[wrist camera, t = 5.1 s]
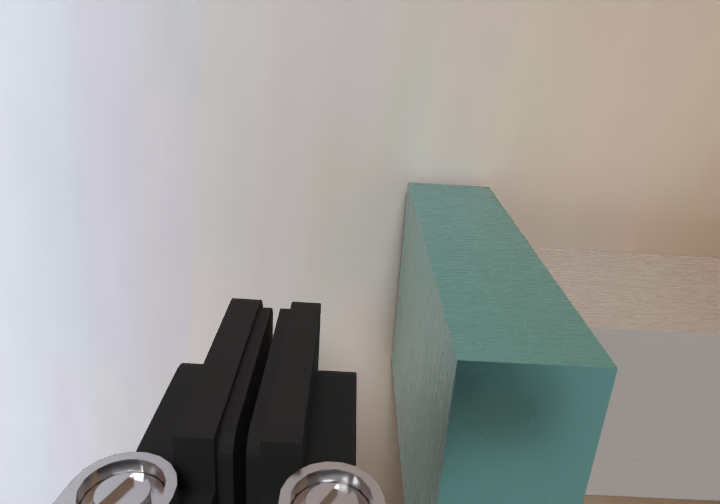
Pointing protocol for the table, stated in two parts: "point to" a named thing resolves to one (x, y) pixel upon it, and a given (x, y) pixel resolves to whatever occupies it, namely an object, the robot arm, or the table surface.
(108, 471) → the robot arm
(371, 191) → the table surface
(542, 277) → the peg
